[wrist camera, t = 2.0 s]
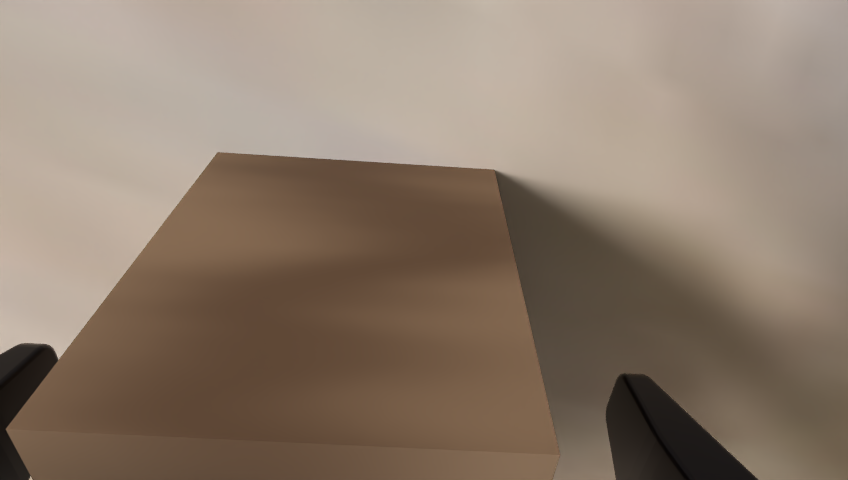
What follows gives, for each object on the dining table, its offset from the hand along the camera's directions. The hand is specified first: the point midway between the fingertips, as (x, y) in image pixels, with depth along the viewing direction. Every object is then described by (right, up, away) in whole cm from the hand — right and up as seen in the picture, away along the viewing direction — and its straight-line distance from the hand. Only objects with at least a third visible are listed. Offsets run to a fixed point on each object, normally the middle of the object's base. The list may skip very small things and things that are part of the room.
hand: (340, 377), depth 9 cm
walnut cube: (0, +2, +3) cm, 3 cm away
